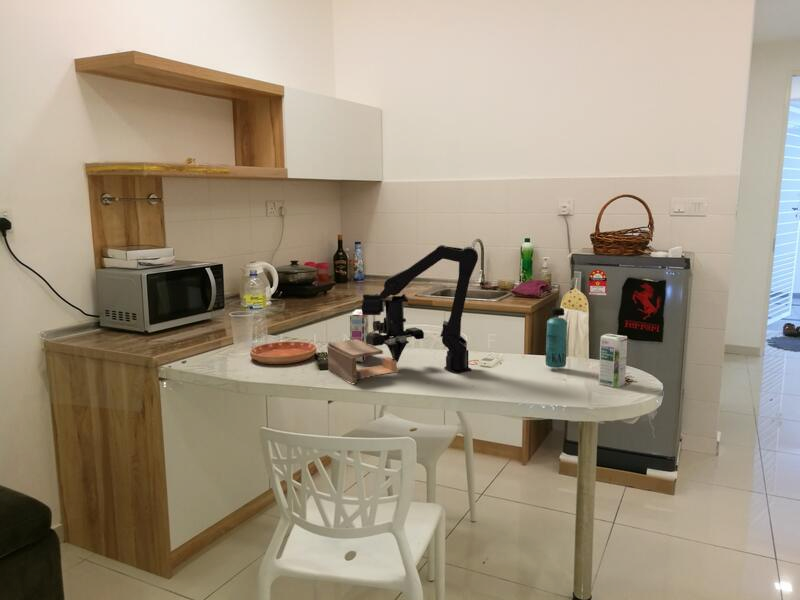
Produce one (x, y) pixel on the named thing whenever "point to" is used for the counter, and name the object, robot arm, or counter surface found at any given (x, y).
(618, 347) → the syrup box
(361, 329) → the candy bar box
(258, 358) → the saucer
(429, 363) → the counter surface
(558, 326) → the beverage bottle
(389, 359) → the wooden plank with block
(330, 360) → the overhang shelf
